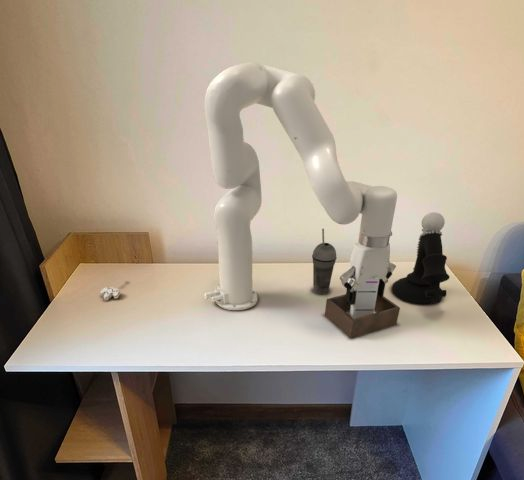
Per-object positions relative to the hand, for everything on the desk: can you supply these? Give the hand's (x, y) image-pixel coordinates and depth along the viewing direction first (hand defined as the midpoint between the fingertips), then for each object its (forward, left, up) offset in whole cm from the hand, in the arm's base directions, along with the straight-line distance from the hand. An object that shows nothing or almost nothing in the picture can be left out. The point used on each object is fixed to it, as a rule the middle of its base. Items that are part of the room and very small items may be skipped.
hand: (364, 298), depth 124 cm
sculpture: (+24, +2, -7) cm, 25 cm away
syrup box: (0, 0, -7) cm, 7 cm away
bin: (0, 0, -7) cm, 7 cm away
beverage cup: (-1, +19, -7) cm, 20 cm away
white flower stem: (-58, +45, -7) cm, 74 cm away
